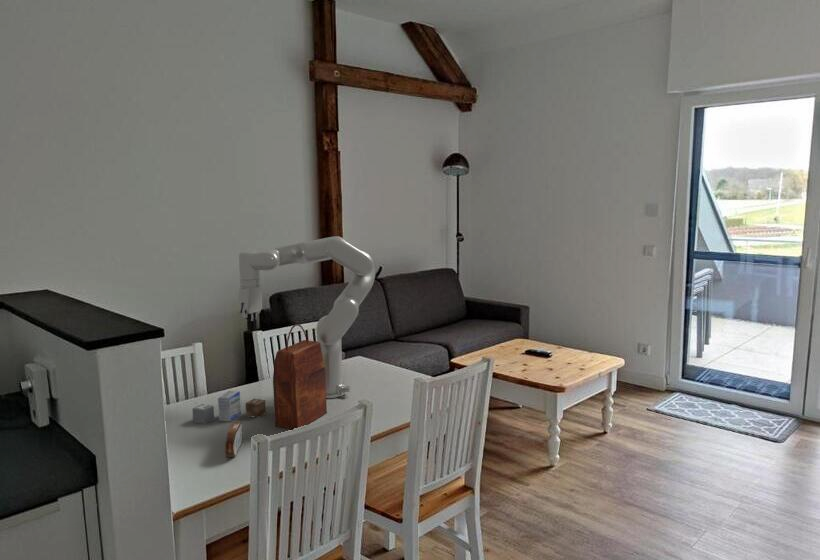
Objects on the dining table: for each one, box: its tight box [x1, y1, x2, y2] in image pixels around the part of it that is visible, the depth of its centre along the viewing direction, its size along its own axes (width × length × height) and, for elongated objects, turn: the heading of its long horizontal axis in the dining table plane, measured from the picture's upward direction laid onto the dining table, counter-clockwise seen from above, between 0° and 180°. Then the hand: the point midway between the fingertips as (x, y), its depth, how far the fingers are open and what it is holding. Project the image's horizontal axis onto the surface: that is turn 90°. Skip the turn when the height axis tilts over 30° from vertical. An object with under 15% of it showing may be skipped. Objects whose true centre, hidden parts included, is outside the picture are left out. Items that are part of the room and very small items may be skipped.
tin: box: [224, 420, 244, 458], centre depth 182 cm, size 15×3×8 cm, turn 5°
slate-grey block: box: [192, 403, 215, 425], centre depth 208 cm, size 5×5×5 cm
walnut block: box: [245, 398, 267, 418], centre depth 213 cm, size 5×5×5 cm
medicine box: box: [217, 390, 242, 422], centre depth 210 cm, size 8×4×9 cm, turn 168°
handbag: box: [272, 323, 328, 430], centre depth 206 cm, size 10×19×35 cm, turn 155°
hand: (252, 330), depth 228 cm, fingers closed
